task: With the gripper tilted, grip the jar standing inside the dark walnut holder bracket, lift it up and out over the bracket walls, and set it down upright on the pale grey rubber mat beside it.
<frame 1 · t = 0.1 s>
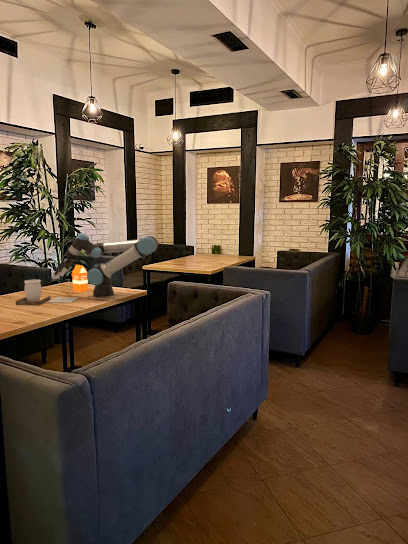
hand: (56, 277, 283), 15 cm above the table, tool tilted 35°, fingers open, 13 cm apart
jar: (33, 302, 273), on the table
holder bracket: (33, 302, 273), on the table
grey mat: (63, 300, 279), on the table
orange juice: (80, 290, 314), on the table
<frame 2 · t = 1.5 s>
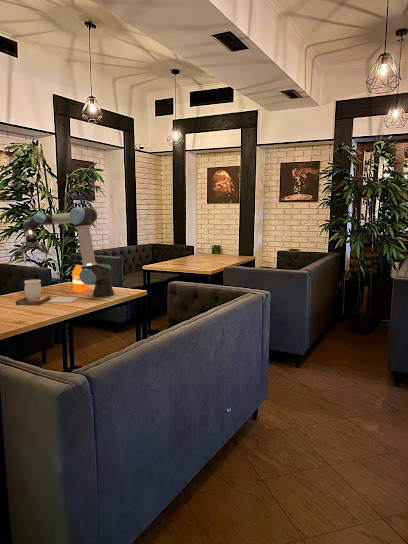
hand: (35, 260, 281), 27 cm above the table, tool tilted 45°, fingers open, 13 cm apart
nothing on the table moved.
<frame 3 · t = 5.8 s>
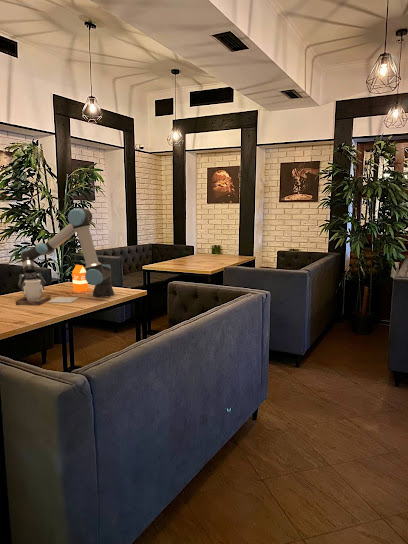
hand: (34, 294, 269), 6 cm above the table, tool tilted 45°, fingers closed on jar, 10 cm apart
jar: (33, 302, 273), on the table, touching gripper
everything else where it was.
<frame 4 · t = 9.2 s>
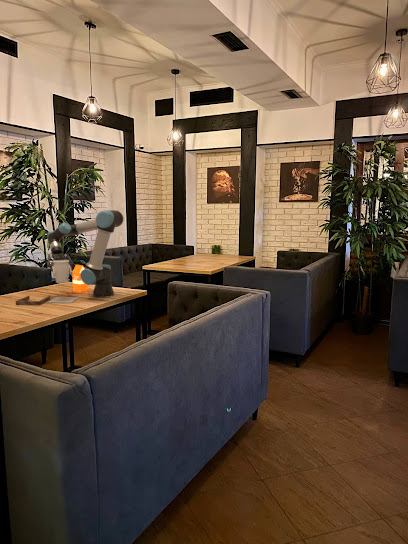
hand: (62, 274, 273), 19 cm above the table, tool tilted 45°, fingers closed on jar, 10 cm apart
jar: (62, 282, 277), point 13 cm above the table, touching gripper
everything else where it was.
when the fingers open (8 cm above the table, at t = 12.5 s): jar drops 1 cm, resting on grey mat.
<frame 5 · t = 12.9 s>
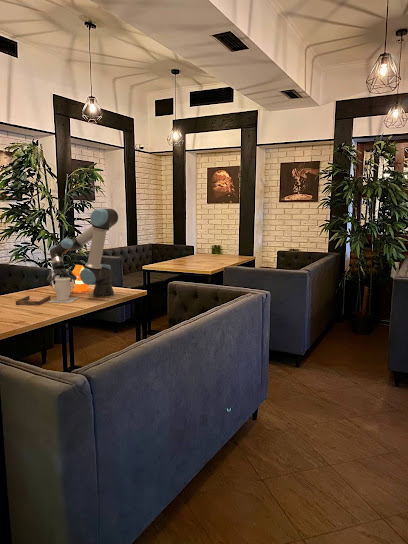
hand: (64, 288, 275), 9 cm above the table, tool tilted 45°, fingers open, 13 cm apart
jar: (63, 299, 279), resting on grey mat
everything else where it was.
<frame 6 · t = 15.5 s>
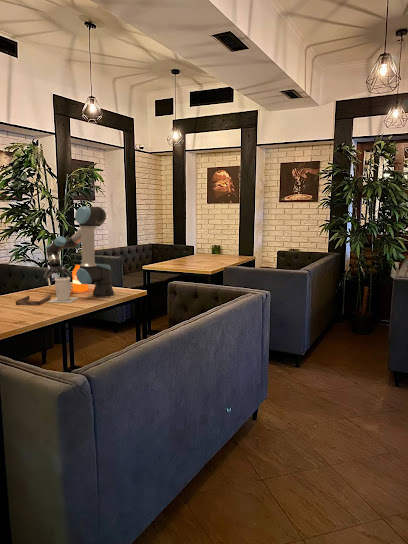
hand: (59, 285, 286), 9 cm above the table, tool tilted 45°, fingers open, 13 cm apart
nothing on the table moved.
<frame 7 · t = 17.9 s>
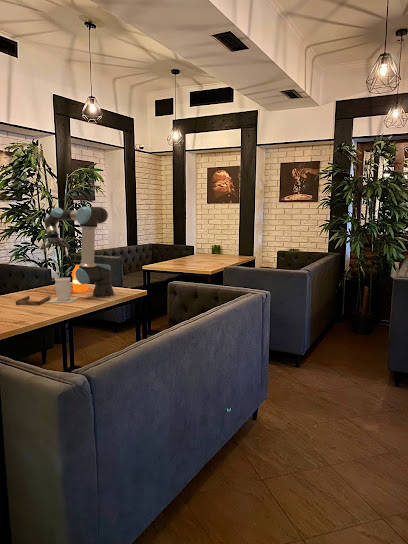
hand: (57, 255, 289), 30 cm above the table, tool tilted 45°, fingers open, 13 cm apart
nothing on the table moved.
at the end: jar inside the target area (0.2 cm from its centre), resting on grey mat; jar tilted 0°; the gripper is holding nothing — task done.
